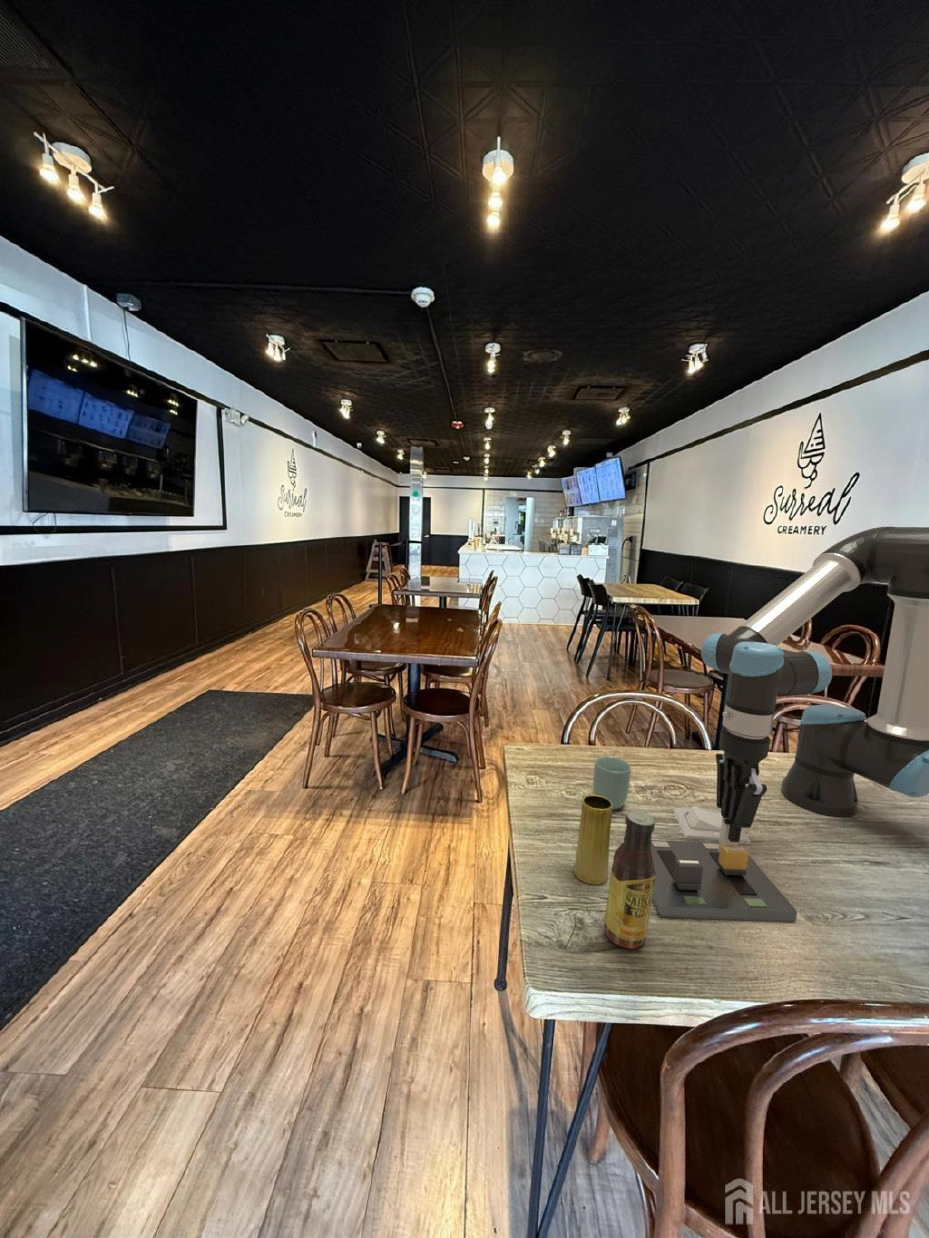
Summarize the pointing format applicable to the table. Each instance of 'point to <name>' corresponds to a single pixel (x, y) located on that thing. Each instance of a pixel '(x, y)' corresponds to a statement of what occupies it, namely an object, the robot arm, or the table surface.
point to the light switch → (703, 824)
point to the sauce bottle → (631, 884)
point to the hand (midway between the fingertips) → (727, 853)
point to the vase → (594, 840)
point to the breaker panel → (715, 887)
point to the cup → (612, 780)
